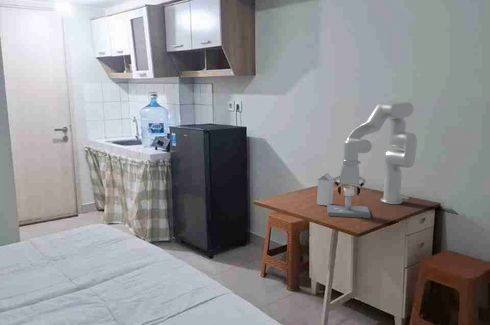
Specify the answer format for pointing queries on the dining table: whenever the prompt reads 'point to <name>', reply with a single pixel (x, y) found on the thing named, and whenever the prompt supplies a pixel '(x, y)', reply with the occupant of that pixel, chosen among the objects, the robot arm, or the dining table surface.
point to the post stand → (348, 210)
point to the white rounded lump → (348, 191)
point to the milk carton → (325, 190)
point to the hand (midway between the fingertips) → (348, 194)
